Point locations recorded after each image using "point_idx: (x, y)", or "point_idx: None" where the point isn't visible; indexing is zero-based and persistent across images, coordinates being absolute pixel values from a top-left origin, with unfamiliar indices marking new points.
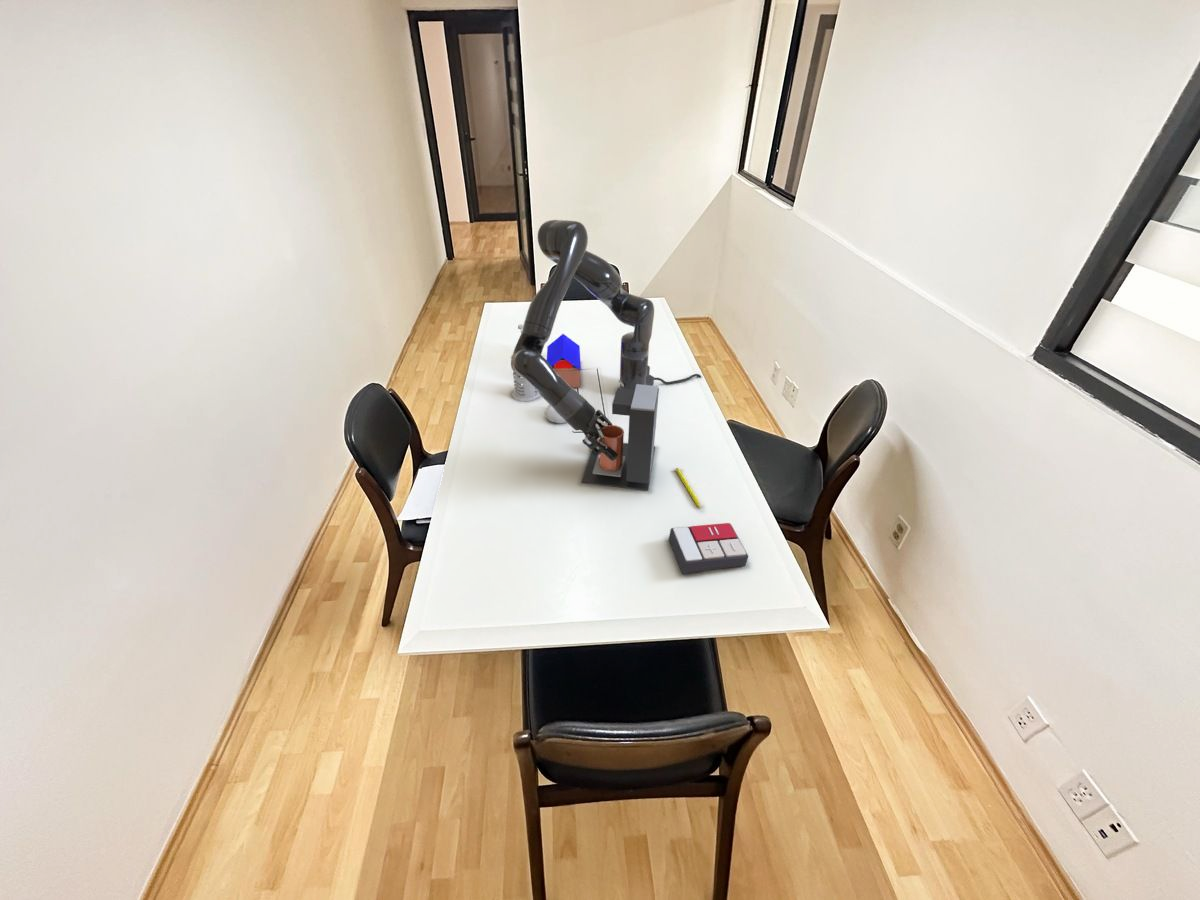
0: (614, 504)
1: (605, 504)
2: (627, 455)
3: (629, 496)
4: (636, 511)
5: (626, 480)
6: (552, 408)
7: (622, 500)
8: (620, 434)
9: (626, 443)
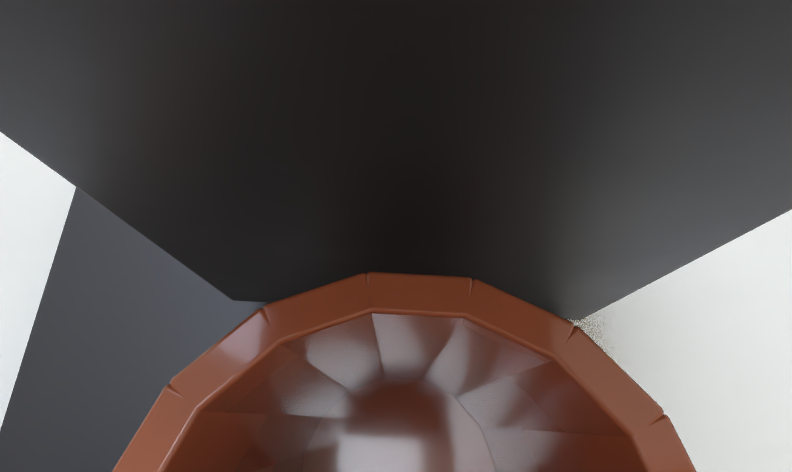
0: (741, 396)
1: (765, 463)
2: (743, 233)
3: (629, 302)
4: (753, 250)
5: (583, 316)
6: None
7: (683, 344)
8: (293, 371)
9: (21, 368)
